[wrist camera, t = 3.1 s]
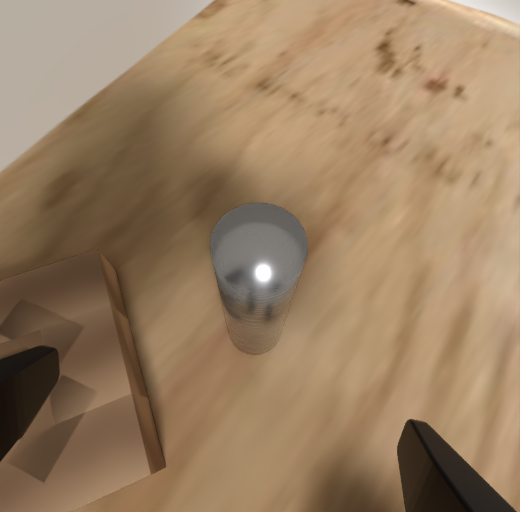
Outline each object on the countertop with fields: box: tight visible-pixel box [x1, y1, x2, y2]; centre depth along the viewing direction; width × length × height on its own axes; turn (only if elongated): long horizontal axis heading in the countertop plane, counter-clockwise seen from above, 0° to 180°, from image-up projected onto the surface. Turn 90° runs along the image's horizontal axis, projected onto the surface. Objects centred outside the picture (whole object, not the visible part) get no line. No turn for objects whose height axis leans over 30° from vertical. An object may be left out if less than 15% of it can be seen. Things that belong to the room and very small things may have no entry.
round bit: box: [210, 203, 308, 355], centre depth 16 cm, size 3×3×11 cm
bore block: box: [0, 249, 166, 512], centre depth 18 cm, size 12×12×3 cm
